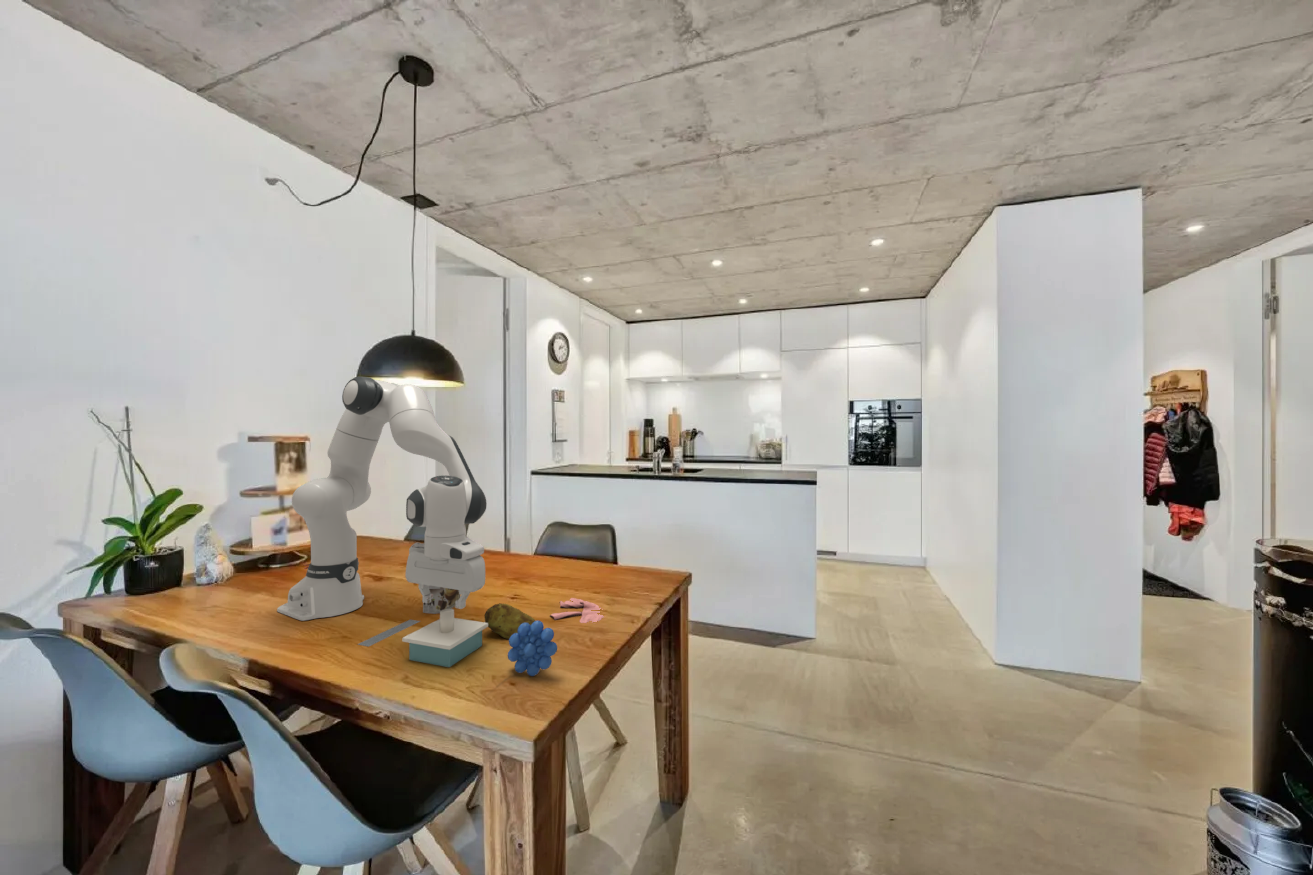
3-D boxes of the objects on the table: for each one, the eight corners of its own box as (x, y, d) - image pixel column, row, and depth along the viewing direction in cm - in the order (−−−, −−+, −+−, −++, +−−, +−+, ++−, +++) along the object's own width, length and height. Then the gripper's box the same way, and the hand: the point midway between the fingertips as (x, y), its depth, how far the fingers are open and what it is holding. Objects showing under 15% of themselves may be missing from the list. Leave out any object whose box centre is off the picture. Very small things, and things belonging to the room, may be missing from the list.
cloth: (604, 627, 126) (604, 619, 126) (525, 626, 127) (525, 617, 127) (613, 601, 147) (613, 593, 147) (544, 599, 147) (544, 592, 147)
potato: (519, 648, 113) (519, 615, 113) (478, 638, 118) (478, 607, 118) (540, 634, 120) (541, 603, 120) (501, 626, 125) (501, 596, 125)
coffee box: (441, 615, 132) (442, 559, 132) (422, 613, 133) (422, 557, 133) (461, 604, 141) (461, 551, 141) (442, 602, 142) (443, 550, 142)
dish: (409, 662, 105) (409, 640, 105) (444, 641, 116) (444, 621, 116) (449, 669, 102) (449, 647, 102) (482, 647, 112) (482, 627, 112)
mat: (357, 645, 113) (357, 644, 113) (409, 620, 128) (409, 619, 128) (409, 655, 108) (409, 653, 108) (457, 628, 124) (457, 626, 124)
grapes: (565, 669, 102) (566, 615, 102) (551, 685, 96) (551, 627, 96) (518, 662, 105) (519, 609, 105) (501, 677, 99) (502, 621, 99)
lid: (402, 641, 104) (402, 617, 104) (444, 619, 117) (444, 598, 117) (449, 649, 101) (449, 625, 101) (488, 626, 113) (488, 604, 113)
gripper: (399, 544, 108) (397, 603, 109) (471, 553, 102) (470, 616, 102) (420, 538, 114) (419, 594, 115) (490, 547, 108) (488, 606, 108)
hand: (443, 604), depth 108 cm, fingers open, 8 cm apart
